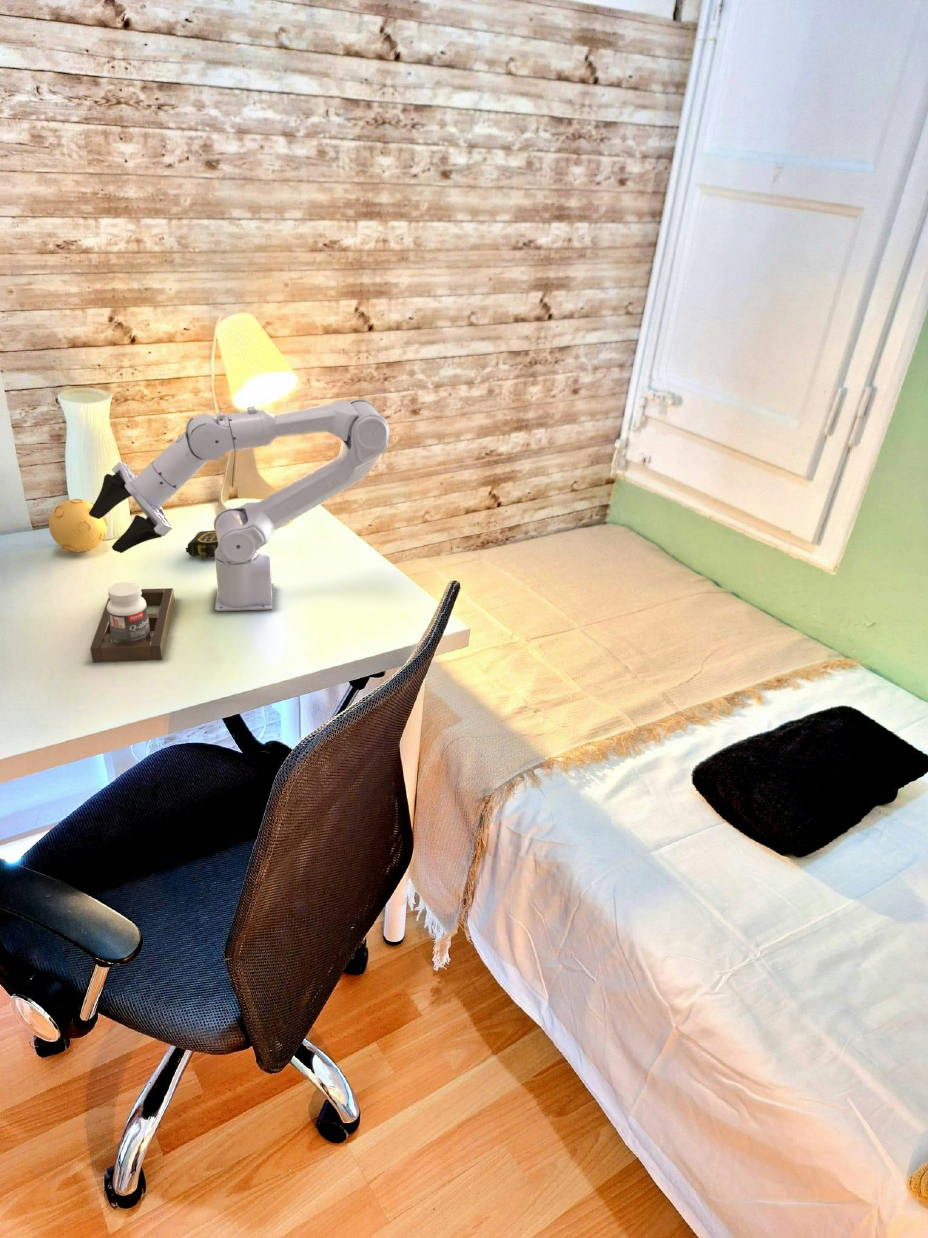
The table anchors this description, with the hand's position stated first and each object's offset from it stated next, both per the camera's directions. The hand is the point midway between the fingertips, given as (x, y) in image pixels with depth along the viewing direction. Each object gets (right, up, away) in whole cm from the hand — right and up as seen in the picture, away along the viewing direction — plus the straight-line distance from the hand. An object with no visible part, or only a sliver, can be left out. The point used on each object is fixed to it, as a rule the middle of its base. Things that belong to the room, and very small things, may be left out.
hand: (105, 533), depth 131 cm
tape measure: (+7, -1, +28) cm, 29 cm away
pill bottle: (+5, -18, -1) cm, 18 cm away
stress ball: (-16, -1, +26) cm, 31 cm away
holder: (+4, -15, +3) cm, 16 cm away
